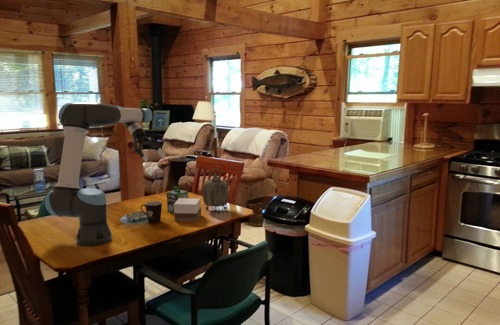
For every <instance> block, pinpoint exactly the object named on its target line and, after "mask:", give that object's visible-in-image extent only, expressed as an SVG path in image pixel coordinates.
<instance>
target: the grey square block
mask: <svg viewBox="0 0 500 325" xmlns="http://www.w3.org/2000/svg"><path fill="white" fill-rule="evenodd" d="M201 216H202V207H201V206H200V209H199V211H198V212H197V214H194V213H174V222H177V223H178V222H179V223H180V222H181V223H185V222H186V223H187V222H188V223H191V222H192V223H197V222H199V220H200V218H201Z"/></svg>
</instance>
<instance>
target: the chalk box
mask: <svg viewBox="0 0 500 325" xmlns="http://www.w3.org/2000/svg"><path fill="white" fill-rule="evenodd" d="M172 187H173V190H171V191H168V192H166V204H167V207H166V208H167V212H170V213H174V203H175V202H176V201H177V200H178V199H179V198H189V191H188V190H183V189H181V188H180V186H177V185H173V186H172ZM174 214H175V213H174Z"/></svg>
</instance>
